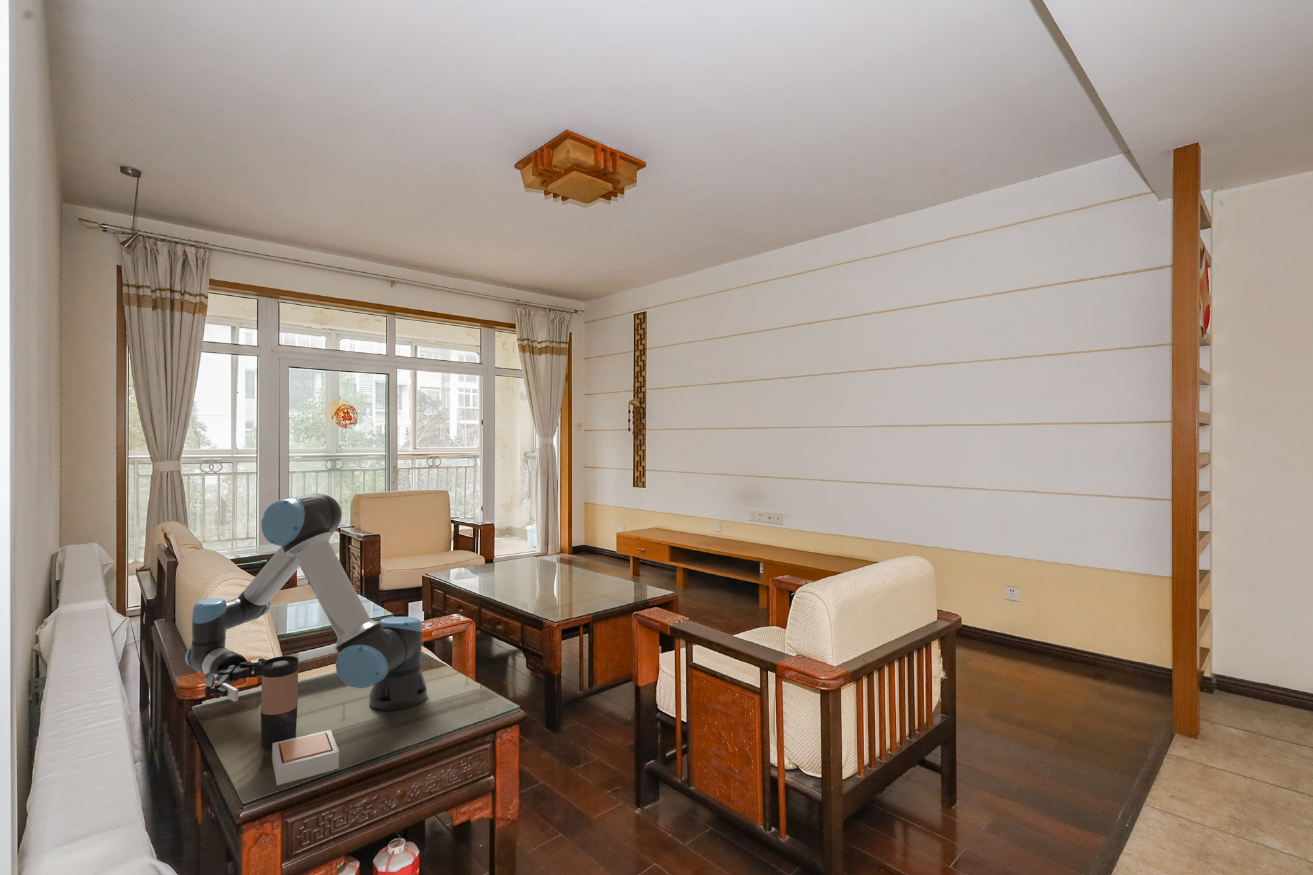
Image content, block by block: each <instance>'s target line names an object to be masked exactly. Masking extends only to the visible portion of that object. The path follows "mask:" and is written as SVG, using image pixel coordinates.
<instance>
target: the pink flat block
mask: <svg viewBox="0 0 1313 875" xmlns="http://www.w3.org/2000/svg"><path fill="white" fill-rule="evenodd" d="M327 752H331V748H330V745H329V742H328V739H327V737H326V734H325V733H321V734H317V735H312V736H308V737H304V738H300V739H295V740H291V741H287V742H283V743H280V756H281V761H282V764H283V763H287V762H291V761H295V760H299V759H303V758H307V757H311V756H315V755H319V754H323V753H327Z"/></svg>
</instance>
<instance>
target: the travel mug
mask: <svg viewBox="0 0 1313 875" xmlns="http://www.w3.org/2000/svg"><path fill="white" fill-rule="evenodd" d="M266 660H267V661H265V662H264V663H263V665H262V675H261V694H260V695H261V697H260V698H261V699H260V701H261V702H260V731H261V732H260V738H261V739H260V740H261V748H262V749H263V750H264V751H265V750H266V751H272V743H275V742H280V741H284V740H288V739H292V738H297V737H296V736H297V719H298V706H299V705H298V703H299V702H298V701H299V700H298V699H299V659H298V656H297V657H296V656H293V655H282V656H276V657H271V658H269V659H266Z"/></svg>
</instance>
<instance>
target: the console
mask: <svg viewBox="0 0 1313 875" xmlns="http://www.w3.org/2000/svg"><path fill="white" fill-rule="evenodd" d="M321 733H325V734H326V737H327V739H328V742H329V745H330V748H331V752H327V753H323V754H319V755H315V756H311V757H307V758H303V759H299V760H295V761H291V762H287V763H283V764H282V761H281V756H280V743H283V742H287V741H291V740H295V739H300V738H304V737H308V736H312V735H317V734H321ZM339 758H340V751H339V748H338V745H337V743H336V741H335V737H334V736H333V733H332V730H331V729H327V730H322V731H318V732H314V733H311V734H307V735H302V736H297V737H296V738H292V739H288V740H284V741H280V742H275V743H272V750H271V762H272V768H273V772H274V778H275V783H276V784H275V785H276V786H281V785H284V784H288V783H292V782H295V781H298V780H299V781H300V780H303V779H307V778H310V777H313V776H317V775H321V774H325V773H328V772H333V771H336V770H335V769H337V770H339V769H340V768H339V766H340V764H339V763H340V759H339Z"/></svg>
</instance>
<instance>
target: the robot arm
mask: <svg viewBox="0 0 1313 875" xmlns="http://www.w3.org/2000/svg"><path fill="white" fill-rule="evenodd" d="M342 516H343V515H342V508H341V506H340V504H339V503H338V502H337V500H336V499H334V497H331V496H330V495H327V494H325V493H313V494H308V495H303V496H302V495H301V496H300V495H299V496H294V497H292V496H289V497H286V498H284V499H279V500H276V501H274V502H273V503H270V505H269V506H267V508H266V509H265V511H264V513H263V517H262V518H261V522H260V523H261V532H262V534H263V536H264V539H266V541H267V542H269V543H270V544H273V545H275V546H280V547H279V549H278V550H277V551H276V552H275V553H274V554H273V555H272V557H271V558H270V559H269V560H268V561H267V562H266V564H265V565H264V566H263V567H262V568H261V569H260V570H259V572H258V574H256V576H255V577H254V578H253V579H252V580H251V582H250V583H249V584H248V585H247V586H246V587H245V589H244V590H243V591H241V593H240V594H239V595H238V596H237V597H238V598H237V597H236V598H234V599H231V600H227V601H226V600H225V598H217V597H214V598H208V599H202V600H199V601H197V602H196V603H194V605H193V607H192V608H193V610H192V616H191V623H192V624H191V644H190V646H189V647H188V649H187V650H186V652H185V654H184V660H185V663H186V665H187V666H189V668H191V669H192V670H193V671H196V672H198V673H201V674H203V675H204V677H205V679H204V681H205V682H204V684H205V686H204V698H209V697H212V695H214V699H220V698H221V697H222V698H225V699H228V700H230V701H232V702H238V701H239V689H238V688H236V687H235V686H232V684H234V683H235V682H237V681H239V680H241V679H243V680H245V679H246V678H250V679H251V678H257V677H258V676H262V665H263V663H264V662H265V661H267V660H268V659H266V658H258V661H257V662H249V661H248V660H247V659H246V658H245V657H244V656H243V655H242V654H239V653H237V652H235V651H233V650H231V649H228V648H226V638H227V637H226V636H227V635H226V634H227V630H230V629H232V628H235V627H237V626H239V625H242V624H243V625H244V624H245V623H248V622H250V621H255V620H257V619H259V618H260V617H263V616H264V615H266V614H267V613H268V612H269V610H270V606H271V601H272V600H273V598H274V597H275V596H276V595H277V594H278V592H279V591H280V590H281V589H282V588H283V586H284V585H285V584H286V583H287V582H288V581H289V580H290V579H291V577H292V576H293V575H294V574H295V572H297V570H298V569H299V568H300V570H301V571H302V573H303V575H304V576H305V577H304V578H306V580H307V582H308V584H309V587H310V588H311V589H312V591H313V593H314V595H315V597H316V599H317V601H318V603H319V604H320V607H321V609H322V611H323V612H324V613H325V616H326V618H327V619H328V621H329V623H330V626H331V627H332V629H333V631H334V634H336V636H337V639H336V640H337V641H336V644H335V646H334V648H335V649H336V651H337V652H338V656H337V658H336V664H335V671H336V674H337V675H338V678H339V679H340V680H341V681H342V682H343V683H344V684H345V685H347V686H348V687H351V688H356V689H367V688H371V690H370V692H369V698H368V699H369V701H368V704H369V706H370V707H371V708H373V709H376V710H380V711H388V712H389V711H400V710H406V709H409V708H413V707H416V706H417V705H419V704H421V703H422V702H424V701H425V700H426V698H427V695H428V689H427V688H428V687H427V685H426V681H425V679H424V674H423V672H422V648H423V647H422V646H423V645H422V644H423V643H422V642H423V624H422V621H421V619H419V618H417V617H412V616H411V617H410V616H391V617H385V618H382V619H380V620H372V619H371V618H370V616H369V614H368V612H367V610H366V608H365V607H364V605H363V602H362V600H361V598H360V597H359V596H358V593H357V592H356V590H355V587H354V586H353V584H352V582H351V579H349V576H348V575H347V573H346V571H345V569H344V567H343V566H342V563H341V562H340V560H339V558H338V556H337V554H336V553H335V551H334V549H333V547H332V545H331V543H330V539H331V537H332V535H333V534H335V532H336V530H337V529H338V527H339V526H340V524H341V521H342V518H343V517H342ZM267 604H268V606H267ZM216 681H217V682H216Z"/></svg>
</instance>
